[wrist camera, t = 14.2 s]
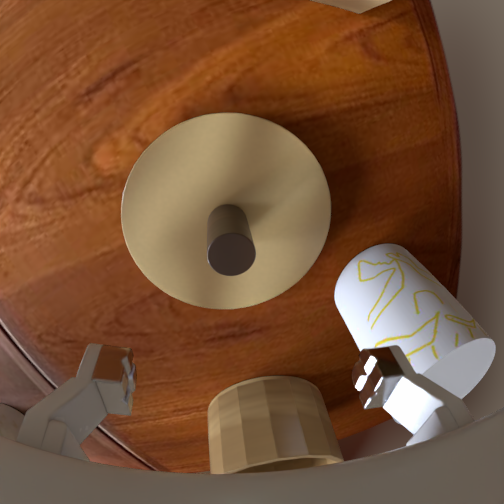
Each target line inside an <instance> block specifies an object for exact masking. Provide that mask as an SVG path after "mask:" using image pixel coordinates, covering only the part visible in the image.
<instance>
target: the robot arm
mask: <svg viewBox="0 0 504 504" xmlns="http://www.w3.org/2000/svg"><path fill="white" fill-rule="evenodd" d="M133 356H134V355H133V351H132V349H131V348H126V347H118V346H110V345H101V344H94V343H90V344H89V345H88V346H87V348H86V351H85V354H84V356H83V359H82V362H81V364H80V367H79V370H78V373H77V376H76V378H75V377H71V378H70V379H69V380H67V381H66V382H65V383H63V384H62V385H61V386H59V387H58V388H57V389H55V390H54V391H53V392H51V393H50V394H49V395H48V396H46V397H45V398H44V399H42V400H41V401H40V402H38V403H37V404H36V405H34V406H33V407H32V408H30V409H29V410H28V411H26V414H25V417H24V419H23V422H22V425H21V428H20V430H19V433H18V436H17V439H16V441H14V440H11V439H8V438H6V437H3V436H0V504H504V407H503V408H502V409H499V410H497V411H496V412H494V413H491V414H489V415H487V416H485V417H483V418H481V419H478V420H476V421H474V419H473V417H472V415H471V414H470V412H469V411H468V409H467V407H466V406H465V404H464V402H463V401H462V399H460V398H459V397H457V396H455V395H454V394H452V393H451V392H449V391H447V390H446V389H444V388H443V387H441V386H439V385H438V384H436V383H435V382H433V381H431V380H430V379H428V378H427V377H425V376H423V375H422V374H420V373H416V372H415V370H414V369H413V367H412V366H411V364H410V362H409V361H408V359H407V357H406V356H405V354H404V353H403V351H402V349H401V348H400V347H399V346H398V345H392V346H386V347H385V346H383V347H374V348H364V349H363V350H361V352H360V354H359V358H360V360H359V361H358V362H357V363H356V364H355V365H354V367H353V370H352V381H353V384H354V386H355V388H356V389H358V390H359V391H360V394H359V398H360V401H361V403H362V405H363V408H364V409H370V408H377V407H383V408H384V409H385V410H386V411H387V412H389V413H390V414H391V415H392V416H393V417H394V418H395V419H397V420H398V421H399V422H400V423H401V424H402V425H403V426H404V427H406V428H407V429H408V430H409V431H410V432H411V433H413V434H414V435H413V436H412V438H411V439H410V440H409V441H408V442H407V444H406V446H405V447H402V448H399V449H395V450H392V451H388V452H384V453H380V454H376V455H372V456H368V457H364V458H359V459H354V460H350V461H344V462H339V463H334V464H328V465H322V466H315V467H308V468H301V469H292V470H283V471H272V472H258V473H237V474H196V473H175V472H162V471H151V470H142V469H133V468H126V467H119V466H113V465H107V464H101V463H96V462H91V461H89V458H88V457H87V456H86V454H85V453H84V451H83V450H82V448H81V447H80V444H81V443H82V442H83V441H84V440H85V439H86V438H87V437H88V435H89V434H90V433H91V432H92V431H93V430H94V429H95V428H96V427H97V426H98V425H99V423H100V422H101V421H102V420H103V419H104V418H105V417H106V416H107V415H108V414H107V413H111V414H120V415H130V416H131V412H132V406H133V397H132V393H133V392H134V391H135V389H136V380H137V373H136V366H135V364H134V363H133V362H132V361H133Z"/></svg>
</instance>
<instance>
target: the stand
mask: <svg viewBox="0 0 504 504" xmlns="http://www.w3.org/2000/svg"><path fill="white" fill-rule="evenodd" d="M311 1H315V2H320V3H324V4H327V5H331V6H335V7H338V8H342V9H345V10H349V11H352V12H355V13H358V14H361V13H363V12H365V11H367V10H370V9H372V8H374V7H377V6H379V5H382V4H384V3H387V2H389V1H392V0H311Z"/></svg>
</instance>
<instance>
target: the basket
mask: <svg viewBox="0 0 504 504" xmlns="http://www.w3.org/2000/svg"><path fill="white" fill-rule="evenodd" d="M208 437H209V456H210V472H211V474H237V473H258V472H272V471H283V470H292V469H301V468H308V467H315V466H322V465H328V464H334V463H339V462H344V461H343V457H342V454H341V451H340V448H339V445H338V442H337V439H336V436H335V433H334V430H333V427H332V424H331V421H330V418H329V415H328V412H327V409H326V406H325V403H324V400H323V397H322V394H321V392H320V391H319V390H318V388H317V387H316V386H315V385H314V384H312V383H311V382H309V381H307V380H304V379H301V378H297V377H292V376H265V377H258V378H254V379H249V380H246V381H243V382H240V383H237V384H235V385H233V386H231V387H229V388H227V389H225V390H223V391H222V392H221V393H219V394H218V395H217V396H216V397H215V398H214V399H213V400H212V402H211V403H210V405H209V408H208Z"/></svg>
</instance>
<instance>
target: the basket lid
mask: <svg viewBox="0 0 504 504" xmlns="http://www.w3.org/2000/svg"><path fill="white" fill-rule="evenodd" d="M330 220H331V199H330V191H329V187H328V184H327V180H326V177H325V175H324V172H323V170H322V168H321V166H320V164H319V163H318V161H317V159H316V158H315V156H314V155H313V153H312V152H311V151H310V150H309V149H308V147H307V146H306V145H305V144H304V143H303V142H302V141H301V140H300V139H299V138H297V137H296V136H295V135H294V134H293V133H291V132H290V131H288V130H287V129H285V128H284V127H282V126H280V125H278V124H276V123H274V122H272V121H269V120H267V119H264V118H261V117H258V116H254V115H250V114H244V113H234V112H221V113H212V114H206V115H202V116H198V117H194V118H191V119H189V120H186V121H184V122H182V123H179V124H177V125H176V126H174V127H172V128H171V129H169V130H167V131H166V132H164V133H163V134H162V135H161V136H159V137H158V138H157V139H156V140H154V141H153V142H152V143H151V144H150V145H149V146H148V148H147V149H146V150H145V151H144V152H143V153H142V154H141V156H140V157H139V159H138V160H137V162H136V163H135V165H134V166H133V168H132V170H131V173H130V175H129V177H128V179H127V182H126V185H125V188H124V192H123V198H122V204H121V221H122V229H123V234H124V237H125V241H126V244H127V247H128V249H129V251H130V254H131V256H132V257H133V259H134V261H135V262H136V264H137V266H138V267H139V268H140V270H141V271H142V272H143V273H144V275H145V276H146V277H147V278H148V279H149V280H150V281H151V282H152V283H153V284H155V285H156V286H157V287H159V288H160V289H161V290H162V291H164V292H166V293H167V294H169V295H171V296H172V297H174V298H176V299H179V300H181V301H183V302H186V303H189V304H192V305H195V306H200V307H205V308H212V309H236V308H243V307H248V306H252V305H256V304H259V303H262V302H264V301H267V300H269V299H271V298H274V297H276V296H278V295H279V294H281V293H283V292H284V291H286V290H287V289H289V288H290V287H291V286H293V285H294V284H295V283H296V282H298V281H299V280H300V279H301V278H302V277H303V276H304V275H305V274H306V273H307V271H308V270H309V269H310V268H311V266H312V265H313V264H314V262H315V261H316V259H317V257H318V256H319V254H320V252H321V250H322V248H323V246H324V243H325V241H326V238H327V234H328V231H329V226H330Z"/></svg>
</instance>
